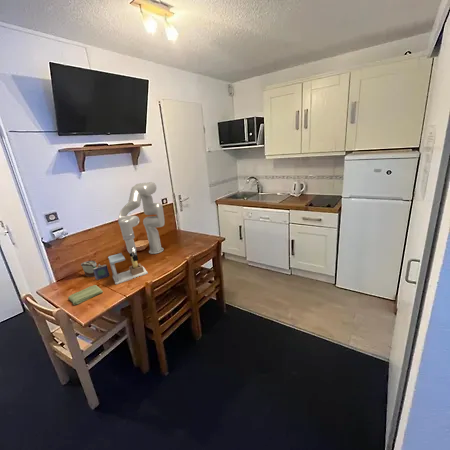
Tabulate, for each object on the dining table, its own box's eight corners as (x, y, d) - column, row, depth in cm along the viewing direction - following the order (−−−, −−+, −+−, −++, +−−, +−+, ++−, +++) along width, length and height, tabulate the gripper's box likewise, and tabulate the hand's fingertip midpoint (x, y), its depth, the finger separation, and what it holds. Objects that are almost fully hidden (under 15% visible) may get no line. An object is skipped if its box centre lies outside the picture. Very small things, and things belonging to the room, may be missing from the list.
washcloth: (104, 293, 161) (103, 288, 160) (74, 307, 149) (73, 302, 148) (96, 287, 170) (95, 282, 169) (68, 299, 158) (66, 295, 157)
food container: (103, 272, 189) (99, 260, 186) (96, 276, 184) (93, 264, 181) (90, 271, 193) (87, 259, 190) (84, 275, 188) (80, 263, 185)
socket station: (112, 276, 181) (107, 256, 176) (142, 266, 191) (138, 247, 186) (115, 284, 169) (110, 263, 164) (147, 273, 180) (143, 253, 175)
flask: (96, 280, 178) (92, 267, 175) (95, 279, 180) (91, 265, 177) (109, 276, 182) (106, 263, 179) (109, 274, 184) (105, 261, 181)
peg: (133, 271, 183) (130, 256, 179) (138, 269, 185) (135, 255, 181) (134, 273, 180) (131, 258, 176) (139, 271, 182) (136, 256, 178)
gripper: (120, 234, 179) (126, 256, 185) (125, 241, 165) (131, 264, 171) (131, 231, 183) (136, 252, 189) (137, 238, 169) (142, 260, 175)
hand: (134, 258), depth 180 cm, fingers open, 9 cm apart
